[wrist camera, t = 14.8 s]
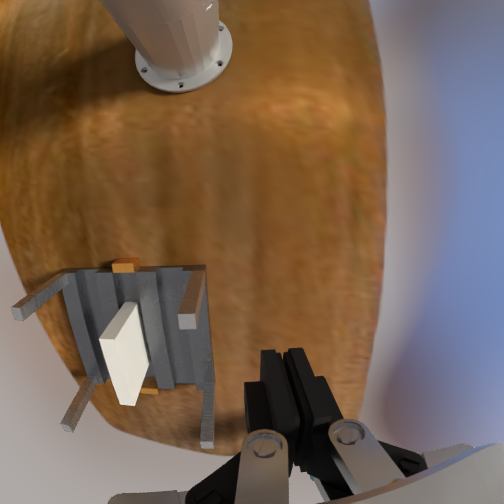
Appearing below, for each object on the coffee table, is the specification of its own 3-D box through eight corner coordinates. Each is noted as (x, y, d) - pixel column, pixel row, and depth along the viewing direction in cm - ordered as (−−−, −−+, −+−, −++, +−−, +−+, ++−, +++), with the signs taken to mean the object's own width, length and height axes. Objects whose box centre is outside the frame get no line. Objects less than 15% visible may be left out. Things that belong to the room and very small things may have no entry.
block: (125, 301, 37) (98, 338, 27) (138, 301, 37) (114, 339, 28) (137, 361, 40) (120, 404, 30) (150, 361, 40) (134, 405, 30)
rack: (64, 260, 36) (8, 296, 22) (205, 255, 37) (193, 300, 24) (96, 379, 41) (67, 436, 28) (216, 385, 43) (214, 453, 29)
